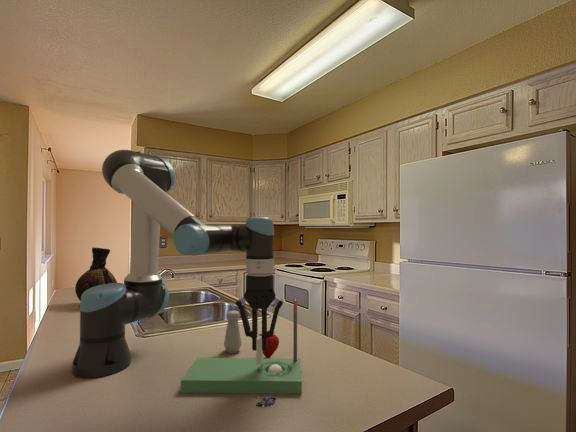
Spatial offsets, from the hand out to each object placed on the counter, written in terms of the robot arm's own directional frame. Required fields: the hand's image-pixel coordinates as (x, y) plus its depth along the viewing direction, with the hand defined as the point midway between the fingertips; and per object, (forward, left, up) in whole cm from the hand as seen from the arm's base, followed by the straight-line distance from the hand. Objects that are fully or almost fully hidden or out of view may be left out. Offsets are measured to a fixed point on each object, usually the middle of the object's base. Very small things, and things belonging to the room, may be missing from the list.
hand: (259, 362), depth 90 cm
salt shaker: (-11, +21, -5) cm, 24 cm away
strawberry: (+1, +15, -5) cm, 15 cm away
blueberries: (+3, -11, -5) cm, 12 cm away
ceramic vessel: (-91, +79, -5) cm, 120 cm away
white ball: (+4, 0, -3) cm, 5 cm away
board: (-4, 0, -5) cm, 6 cm away
